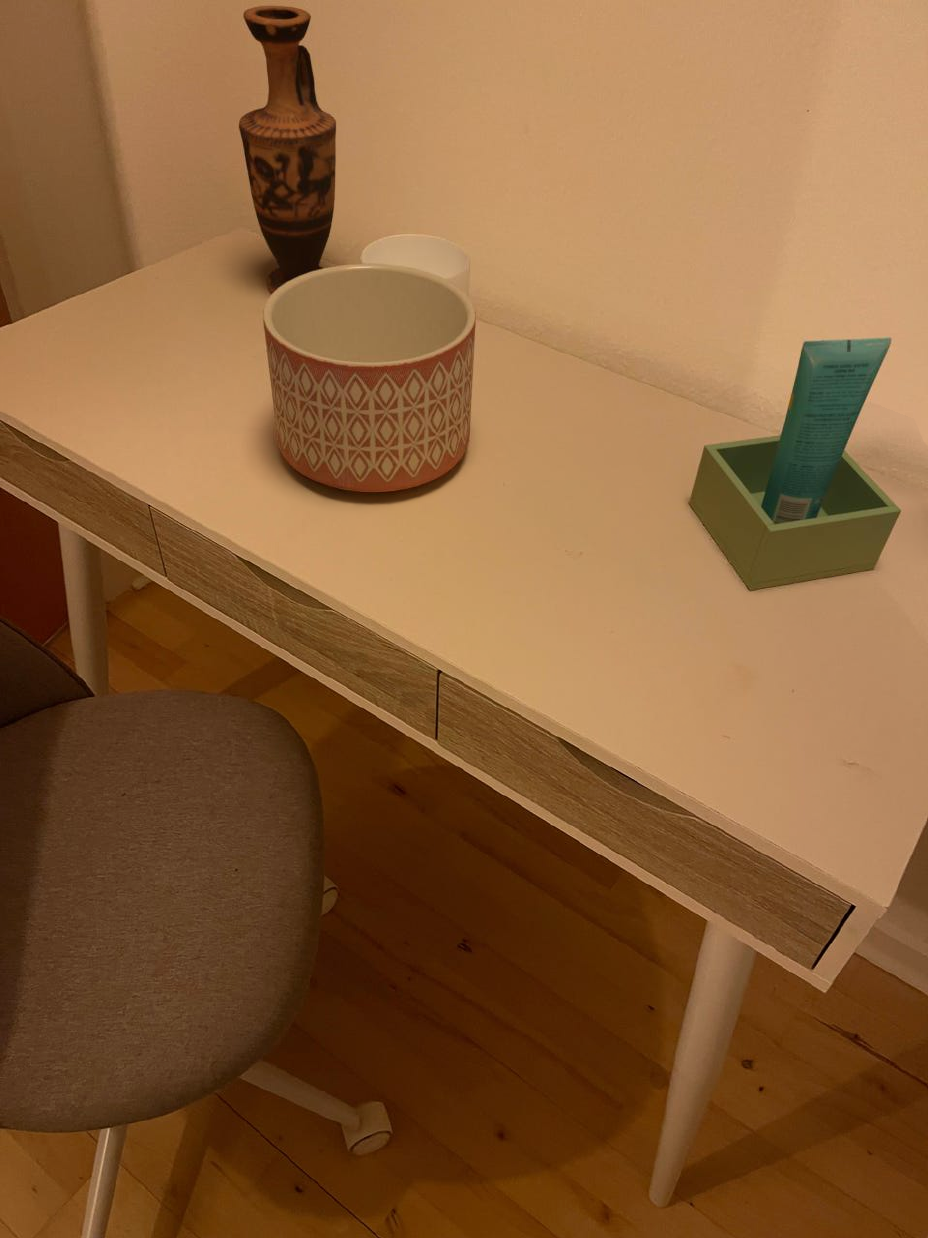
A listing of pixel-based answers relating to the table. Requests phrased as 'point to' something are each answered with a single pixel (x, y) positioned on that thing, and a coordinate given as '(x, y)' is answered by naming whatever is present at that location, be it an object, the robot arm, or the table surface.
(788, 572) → the basket
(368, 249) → the cup
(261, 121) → the vase
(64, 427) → the table surface
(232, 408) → the table surface
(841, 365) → the tube
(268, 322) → the planter
